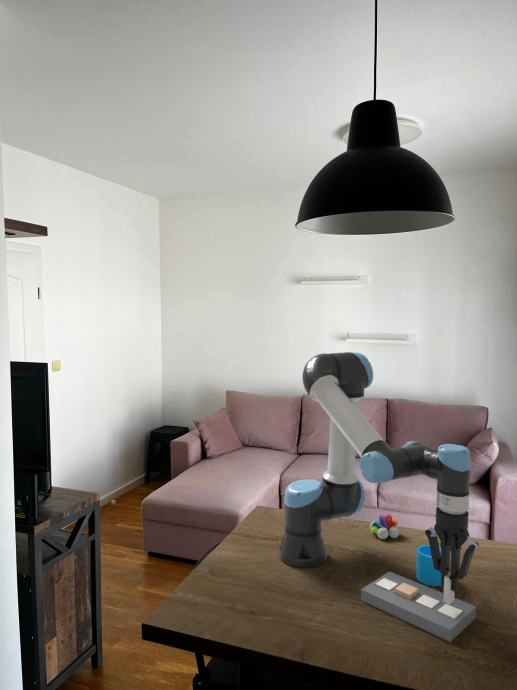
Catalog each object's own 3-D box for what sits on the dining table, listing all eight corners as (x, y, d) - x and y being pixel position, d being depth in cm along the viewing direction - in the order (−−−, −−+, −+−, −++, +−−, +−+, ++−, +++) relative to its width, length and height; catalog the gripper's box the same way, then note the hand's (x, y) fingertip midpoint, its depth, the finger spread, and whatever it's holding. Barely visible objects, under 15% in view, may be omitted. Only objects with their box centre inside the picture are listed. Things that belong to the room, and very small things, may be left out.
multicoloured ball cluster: (403, 539, 178) (403, 518, 178) (376, 541, 176) (377, 520, 176) (391, 529, 186) (392, 509, 186) (366, 531, 184) (366, 511, 184)
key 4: (437, 622, 130) (437, 610, 129) (445, 615, 133) (445, 603, 132) (454, 629, 126) (454, 618, 126) (462, 622, 129) (462, 610, 129)
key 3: (415, 612, 134) (415, 601, 134) (423, 605, 137) (423, 594, 137) (431, 619, 131) (431, 608, 131) (439, 612, 134) (439, 601, 134)
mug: (447, 587, 147) (447, 559, 146) (417, 583, 149) (417, 556, 148) (443, 567, 158) (444, 541, 158) (415, 564, 160) (415, 538, 160)
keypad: (360, 600, 140) (361, 589, 140) (389, 581, 150) (389, 571, 150) (450, 642, 122) (450, 630, 122) (475, 618, 132) (476, 606, 132)
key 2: (394, 599, 138) (394, 588, 138) (403, 593, 141) (403, 582, 141) (409, 606, 135) (409, 594, 135) (418, 599, 138) (418, 588, 138)
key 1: (375, 594, 142) (375, 583, 142) (384, 588, 146) (384, 578, 145) (389, 600, 139) (389, 589, 139) (398, 594, 142) (398, 583, 142)
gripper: (420, 505, 130) (417, 596, 132) (471, 521, 121) (467, 618, 122) (434, 497, 135) (431, 585, 137) (485, 512, 126) (481, 605, 128)
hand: (448, 600), depth 130 cm, fingers closed
